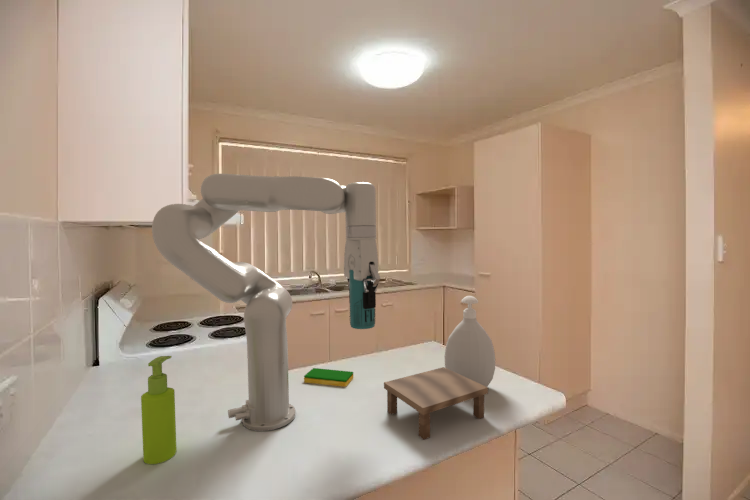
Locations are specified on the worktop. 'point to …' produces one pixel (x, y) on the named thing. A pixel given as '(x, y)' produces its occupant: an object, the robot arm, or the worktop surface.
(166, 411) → the soap dispenser
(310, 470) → the worktop surface
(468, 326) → the soap bottle
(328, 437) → the worktop surface
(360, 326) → the beverage bottle
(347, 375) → the dish sponge
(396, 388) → the footstool
